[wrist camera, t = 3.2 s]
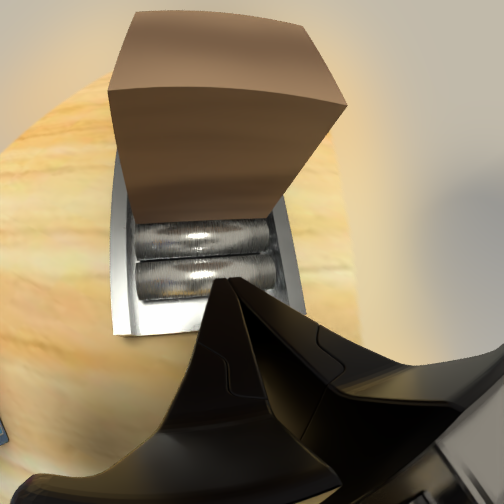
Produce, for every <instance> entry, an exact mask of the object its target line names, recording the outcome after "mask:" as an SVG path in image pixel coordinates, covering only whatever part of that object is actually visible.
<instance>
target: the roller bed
mask: <svg viewBox="0 0 504 504" xmlns="http://www.w3.org/2000/svg"><path fill="white" fill-rule="evenodd" d="M229 277H242V278H244V279H245V280H247V281H248V282H250V283H252V284H253V285H255V286H257V287H258V288H260V289H261V290H263V291H265V292H266V293H268V294H270V295H271V296H273V297H275V298H276V299H278V300H280V301H281V302H283V303H285V304H286V305H288V306H290V307H291V308H293V309H295V310H296V311H298V312H300V313H301V314H303V315H306V309H305V303H304V297H303V292H302V286H301V281H300V275H299V270H298V265H297V259H296V254H295V249H294V244H293V239H292V234H291V229H290V224H289V220H288V215H287V210H286V205H285V201H284V196H283V195H282V197H281V198H280V200H279V201H278V202H277V204H276V205H275V207H274V208H273V209H272V211H271V212H270V214H269V215H268V216H267V218H256V219H227V220H203V221H182V222H164V223H148V224H135V220H134V216H133V213H132V209H131V205H130V201H129V198H128V194H127V190H126V185H125V181H124V177H123V173H122V168H121V164H120V159H119V154H118V149H117V152H116V160H115V169H114V179H113V190H112V204H111V223H110V290H111V309H112V322H113V334H114V335H116V336H122V337H130V336H147V335H161V334H173V333H185V332H195V331H199V328H200V325H201V321H202V318H203V314H204V311H205V307H206V304H207V300H208V297H209V293H210V290H211V286H212V283H213V280H214V279H216V278H227V279H228V278H229Z"/></svg>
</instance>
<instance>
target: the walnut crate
mask: <svg viewBox="0 0 504 504" xmlns="http://www.w3.org/2000/svg"><path fill="white" fill-rule="evenodd" d="M108 98H109V104H110V111H111V117H112V123H113V129H114V134H115V139H116V144H117V149H118V154H119V159H120V164H121V168H122V173H123V177H124V181H125V185H126V190H127V194H128V198H129V201H130V205H131V209H132V213H133V216H134V220H135V224H148V223H164V222H182V221H203V220H227V219H256V218H267V216H268V215H269V214H270V212H271V211H272V209H273V208H274V207H275V205H276V204H277V202H278V201H279V200H280V198H281V197H282V195H283V194H284V193H285V191H286V190H287V188H288V187H289V186H290V184H291V183H292V182H293V180H294V179H295V177H296V176H297V175H298V173H299V172H300V170H301V169H302V168H303V166H304V165H305V164H306V162H307V161H308V159H309V158H310V157H311V155H312V154H313V152H314V151H315V150H316V148H317V147H318V146H319V144H320V143H321V141H322V140H323V139H324V137H325V136H326V135H327V133H328V132H329V130H330V129H331V128H332V126H333V125H334V124H335V122H336V121H337V119H338V118H339V117H340V115H341V114H342V113H343V111H344V110H345V108H346V107H347V103H346V101H345V99H344V97H343V95H342V93H341V92H340V89H339V88H338V86H337V84H336V82H335V80H334V78H333V76H332V74H331V73H330V71H329V69H328V67H327V65H326V64H325V62H324V60H323V59H322V57H321V55H320V53H319V52H318V50H317V48H316V47H315V45H314V43H313V42H312V40H311V38H310V37H309V35H308V34H307V32H306V31H305V29H304V28H303V26H300V25H296V24H291V23H287V22H282V21H277V20H272V19H266V18H260V17H254V16H247V15H240V14H231V13H221V12H208V11H180V10H176V11H173V10H170V11H169V10H168V11H142V12H136V13H135V15H134V17H133V20H132V22H131V25H130V27H129V29H128V32H127V35H126V37H125V40H124V42H123V45H122V48H121V51H120V53H119V56H118V59H117V62H116V65H115V68H114V71H113V74H112V77H111V80H110V84H109V87H108Z"/></svg>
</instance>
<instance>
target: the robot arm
mask: <svg viewBox="0 0 504 504" xmlns="http://www.w3.org/2000/svg"><path fill="white" fill-rule="evenodd" d="M10 504H504V344H502V345H501V346H500V347H499V348H497V349H496V350H494V351H491V352H488V353H485V354H482V355H479V356H474V357H469V358H464V359H459V360H453V361H448V362H441V363H435V364H428V365H420V366H411V365H405V364H401V363H398V362H395V361H393V360H390V359H388V358H386V357H384V356H382V355H379V354H377V353H375V352H373V351H371V350H368V349H366V348H364V347H362V346H360V345H358V344H355V343H353V342H351V341H349V340H347V339H345V338H343V337H341V336H340V335H338V334H336V333H334V332H332V331H330V330H329V329H327V328H325V327H324V326H322V325H319V324H318V323H317V322H315V321H313V320H311V319H310V318H308V317H306V316H305V315H303V314H301V313H300V312H298V311H296V310H295V309H293V308H291V307H290V306H288V305H286V304H285V303H283V302H281V301H280V300H278V299H276V298H275V297H273V296H271V295H270V294H268V293H266V292H265V291H263V290H261V289H260V288H258V287H257V286H255V285H253V284H252V283H250V282H248V281H247V280H245V279H244V278H242V277H229V278H228V279H227V278H216V279H214V280H213V283H212V286H211V290H210V293H209V297H208V300H207V304H206V307H205V311H204V314H203V318H202V321H201V325H200V328H199V332H198V336H197V339H196V344H195V346H194V350H193V353H192V356H191V359H190V362H189V366H188V368H187V370H186V373H185V375H184V377H183V380H182V382H181V384H180V386H179V388H178V390H177V392H176V394H175V397H174V399H173V401H172V403H171V405H170V407H169V409H168V411H167V413H166V415H165V417H164V419H163V421H162V423H161V424H160V426H159V428H158V429H157V430H156V432H155V433H154V434H153V435H152V436H151V437H150V438H148V439H147V440H146V441H145V442H143V443H142V444H141V445H140V446H138V447H137V448H136V449H134V450H133V451H132V452H131V453H129V454H128V455H127V456H125V457H124V458H123V459H121V460H120V461H119V462H117V463H116V464H115V465H113V466H112V467H111V468H109V469H108V470H106V471H104V472H102V473H100V474H97V475H94V476H88V477H67V476H60V475H54V474H35V475H32V476H31V477H29V478H28V479H27V480H26V481H25V482H24V483H23V484H22V485H20V486H19V488H18V489H17V490H16V491H15V493H14V495H13V497H12V499H11V502H10Z"/></svg>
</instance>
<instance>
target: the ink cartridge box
mask: <svg viewBox="0 0 504 504" xmlns="http://www.w3.org/2000/svg"><path fill="white" fill-rule="evenodd" d="M7 442H8V437H7V435H6V433H5V430H4V428H3V426H2V423H1V421H0V445H3V444H5V443H7Z"/></svg>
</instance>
